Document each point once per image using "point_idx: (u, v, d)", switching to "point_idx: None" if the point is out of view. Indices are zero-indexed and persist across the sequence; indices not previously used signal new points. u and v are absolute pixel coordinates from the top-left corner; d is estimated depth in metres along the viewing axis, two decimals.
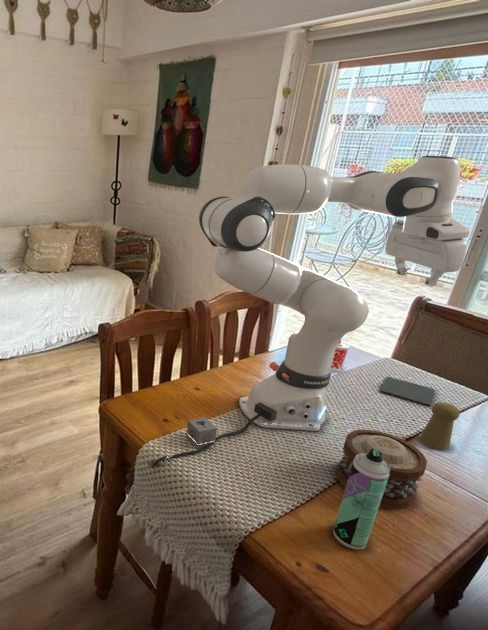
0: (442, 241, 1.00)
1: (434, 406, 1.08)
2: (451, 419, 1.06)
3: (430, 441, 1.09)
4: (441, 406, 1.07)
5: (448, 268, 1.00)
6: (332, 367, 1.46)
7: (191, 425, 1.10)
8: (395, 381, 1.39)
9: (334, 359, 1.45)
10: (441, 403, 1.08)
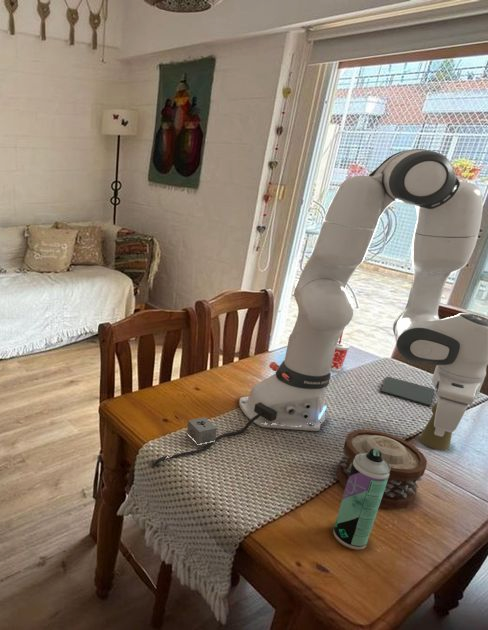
0: (439, 397, 1.01)
1: (434, 406, 1.08)
2: None
3: (430, 441, 1.09)
4: None
5: (437, 424, 1.01)
6: (332, 367, 1.46)
7: (191, 425, 1.10)
8: (395, 381, 1.39)
9: (334, 359, 1.45)
10: None
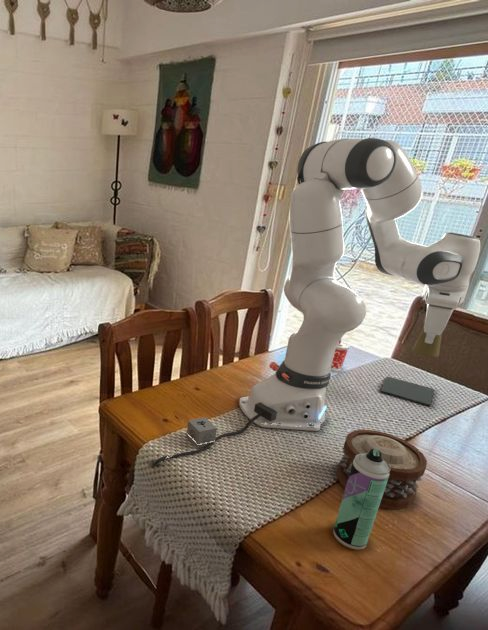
0: (429, 305, 1.16)
1: (425, 318, 1.23)
2: None
3: (421, 350, 1.24)
4: None
5: (426, 328, 1.16)
6: (332, 367, 1.46)
7: (191, 425, 1.10)
8: (395, 381, 1.39)
9: (334, 359, 1.45)
10: None
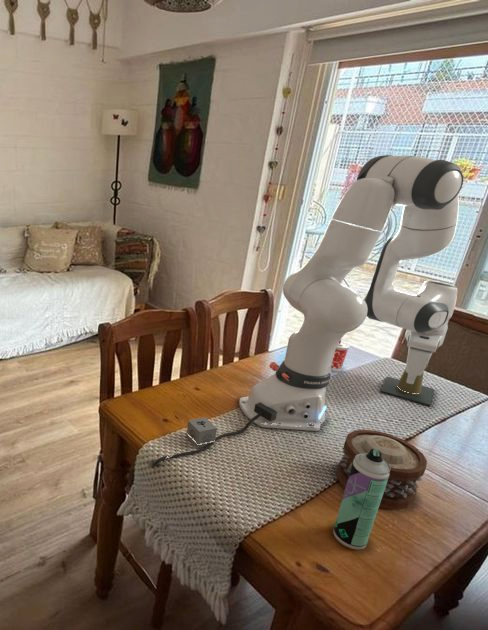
0: (410, 347, 1.24)
1: None
2: None
3: (404, 388, 1.32)
4: None
5: (408, 369, 1.24)
6: (332, 367, 1.46)
7: (191, 425, 1.10)
8: (395, 381, 1.39)
9: (334, 359, 1.45)
10: None
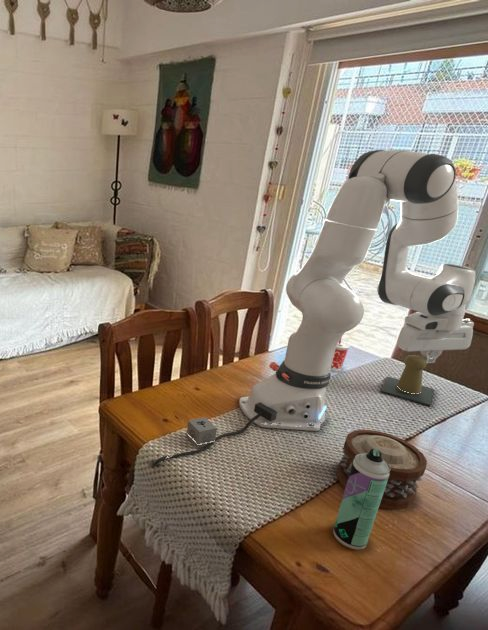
0: (407, 323, 1.28)
1: (405, 359, 1.31)
2: (419, 368, 1.28)
3: (404, 388, 1.32)
4: (411, 358, 1.30)
5: (397, 343, 1.29)
6: (332, 367, 1.46)
7: (191, 425, 1.10)
8: (395, 381, 1.39)
9: (334, 359, 1.45)
10: (411, 356, 1.31)
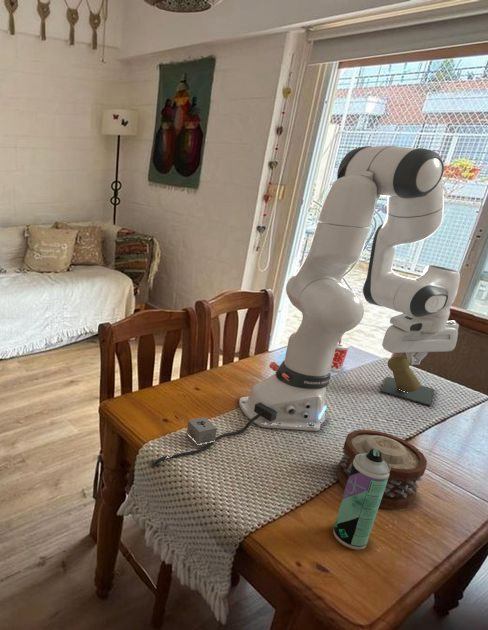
0: (392, 325, 1.28)
1: None
2: (403, 370, 1.28)
3: (402, 388, 1.32)
4: (391, 364, 1.30)
5: (382, 344, 1.29)
6: (332, 367, 1.46)
7: (191, 425, 1.10)
8: None
9: (334, 359, 1.45)
10: (391, 359, 1.30)
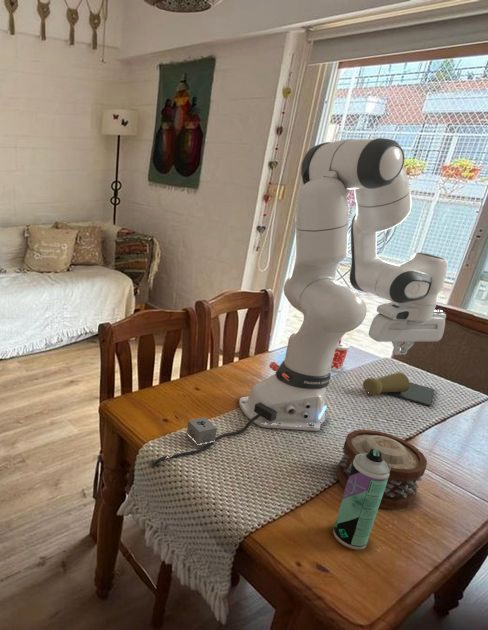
0: (379, 313, 1.26)
1: None
2: (380, 392, 1.30)
3: None
4: (366, 392, 1.32)
5: (369, 333, 1.27)
6: (332, 367, 1.46)
7: (191, 425, 1.10)
8: None
9: (334, 359, 1.45)
10: (364, 387, 1.33)
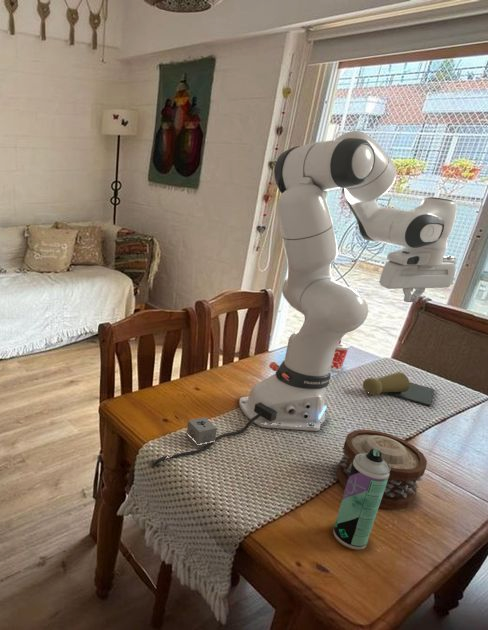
0: (389, 261, 1.27)
1: None
2: (380, 392, 1.30)
3: None
4: (366, 392, 1.32)
5: (379, 281, 1.28)
6: (332, 367, 1.46)
7: (191, 425, 1.10)
8: None
9: (334, 359, 1.45)
10: (364, 387, 1.33)
